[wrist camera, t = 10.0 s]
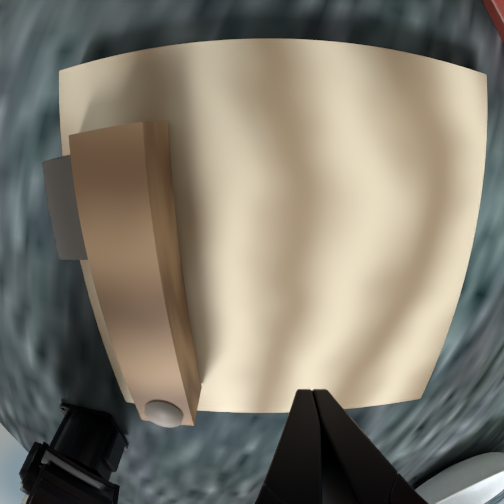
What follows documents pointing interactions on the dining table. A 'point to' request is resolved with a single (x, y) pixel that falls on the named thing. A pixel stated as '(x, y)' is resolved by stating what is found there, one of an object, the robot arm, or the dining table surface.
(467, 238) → the stool seat
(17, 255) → the dining table surface
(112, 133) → the stool leg
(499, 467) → the serving bowl
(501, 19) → the plant saucer
